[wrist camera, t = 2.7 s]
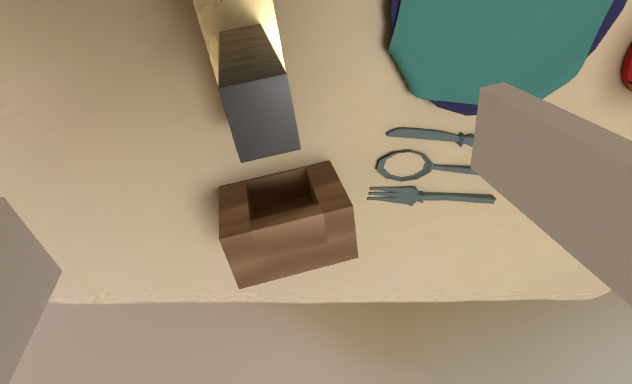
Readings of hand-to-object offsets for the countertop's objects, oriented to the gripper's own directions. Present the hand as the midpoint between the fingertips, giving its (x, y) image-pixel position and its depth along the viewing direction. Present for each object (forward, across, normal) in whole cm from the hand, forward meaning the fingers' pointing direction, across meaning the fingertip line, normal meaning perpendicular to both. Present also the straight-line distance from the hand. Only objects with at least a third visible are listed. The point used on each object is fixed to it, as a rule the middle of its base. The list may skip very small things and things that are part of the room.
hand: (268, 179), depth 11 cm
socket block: (+19, 0, -14) cm, 23 cm away
